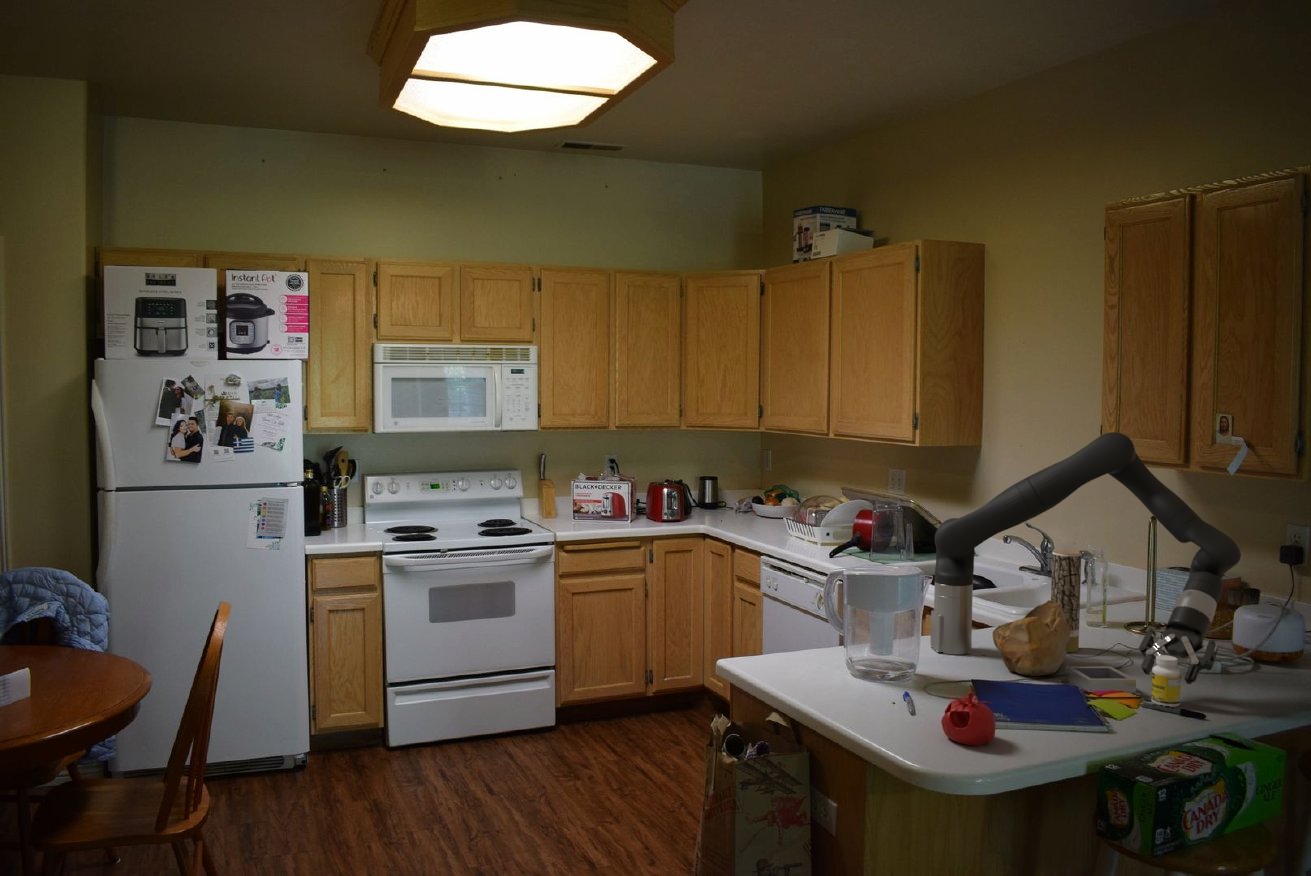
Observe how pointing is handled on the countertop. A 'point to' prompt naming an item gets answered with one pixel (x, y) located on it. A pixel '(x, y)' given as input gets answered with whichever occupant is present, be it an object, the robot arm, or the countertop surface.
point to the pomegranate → (969, 721)
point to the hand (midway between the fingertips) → (1166, 677)
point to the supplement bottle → (1166, 681)
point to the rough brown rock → (1034, 641)
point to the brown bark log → (1067, 590)
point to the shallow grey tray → (1099, 679)
